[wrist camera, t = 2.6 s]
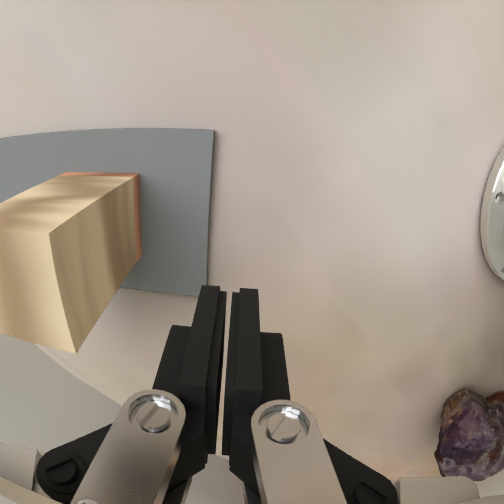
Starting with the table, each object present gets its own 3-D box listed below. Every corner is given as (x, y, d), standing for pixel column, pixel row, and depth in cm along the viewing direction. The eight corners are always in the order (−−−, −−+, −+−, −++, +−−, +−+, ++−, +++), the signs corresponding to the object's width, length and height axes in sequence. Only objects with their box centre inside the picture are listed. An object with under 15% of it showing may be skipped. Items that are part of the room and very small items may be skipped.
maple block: (139, 173, 17) (48, 233, 9) (142, 255, 19) (76, 353, 11) (65, 172, 17) (-40, 225, 9) (73, 248, 19) (-9, 329, 11)
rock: (467, 363, 25) (402, 427, 29) (500, 422, 17) (416, 488, 21) (515, 393, 26) (459, 446, 29) (543, 440, 18) (475, 496, 21)
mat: (214, 130, 16) (213, 130, 16) (206, 293, 20) (205, 297, 20) (-30, 143, 16) (-33, 144, 16) (-12, 263, 20) (-15, 265, 20)
